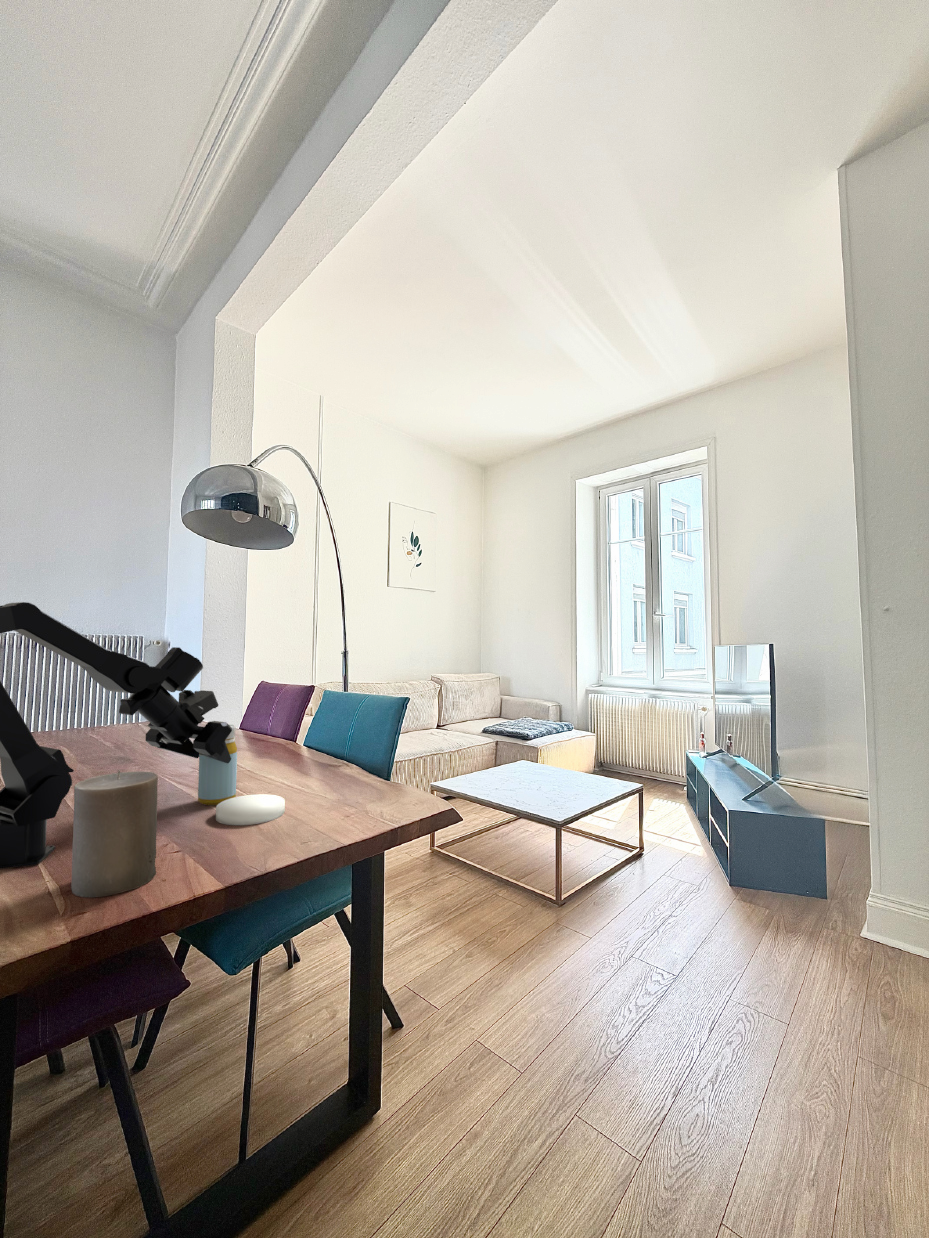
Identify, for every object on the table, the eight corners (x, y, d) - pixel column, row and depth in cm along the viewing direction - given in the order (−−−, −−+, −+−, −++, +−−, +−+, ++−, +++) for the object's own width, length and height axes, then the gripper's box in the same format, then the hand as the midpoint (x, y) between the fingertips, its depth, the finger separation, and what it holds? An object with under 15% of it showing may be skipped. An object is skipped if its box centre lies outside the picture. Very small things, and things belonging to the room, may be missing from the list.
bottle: (242, 796, 111) (244, 724, 111) (223, 806, 104) (226, 730, 104) (210, 795, 111) (212, 723, 112) (190, 805, 104) (192, 729, 105)
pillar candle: (172, 870, 75) (175, 764, 76) (109, 903, 65) (113, 780, 66) (118, 863, 77) (121, 760, 78) (50, 893, 68) (54, 775, 69)
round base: (284, 821, 96) (284, 810, 96) (211, 828, 92) (212, 816, 92) (284, 802, 107) (284, 792, 107) (219, 807, 103) (219, 797, 103)
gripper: (224, 679, 99) (269, 730, 108) (161, 676, 107) (208, 722, 116) (184, 728, 91) (236, 777, 101) (120, 720, 100) (174, 766, 109)
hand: (213, 758), depth 107 cm, fingers open, 9 cm apart
